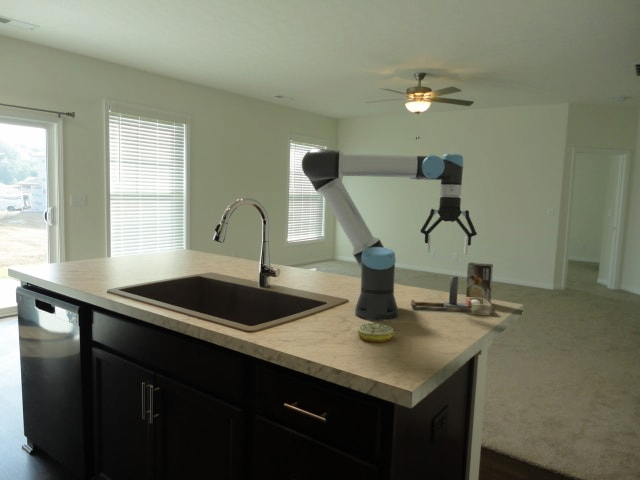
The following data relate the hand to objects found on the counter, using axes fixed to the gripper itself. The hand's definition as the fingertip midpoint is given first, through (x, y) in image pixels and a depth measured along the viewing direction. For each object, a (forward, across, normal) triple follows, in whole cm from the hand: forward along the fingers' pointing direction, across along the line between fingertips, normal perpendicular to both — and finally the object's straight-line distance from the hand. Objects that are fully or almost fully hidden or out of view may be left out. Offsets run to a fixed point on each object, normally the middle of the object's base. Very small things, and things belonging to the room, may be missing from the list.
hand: (446, 253), depth 171 cm
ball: (+19, +11, -2) cm, 22 cm away
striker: (+20, +5, -2) cm, 21 cm away
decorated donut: (+22, -24, -42) cm, 53 cm away
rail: (+21, -1, -2) cm, 21 cm away
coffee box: (+21, +15, +10) cm, 28 cm away
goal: (+20, +12, -2) cm, 24 cm away
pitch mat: (+21, +2, -2) cm, 21 cm away
